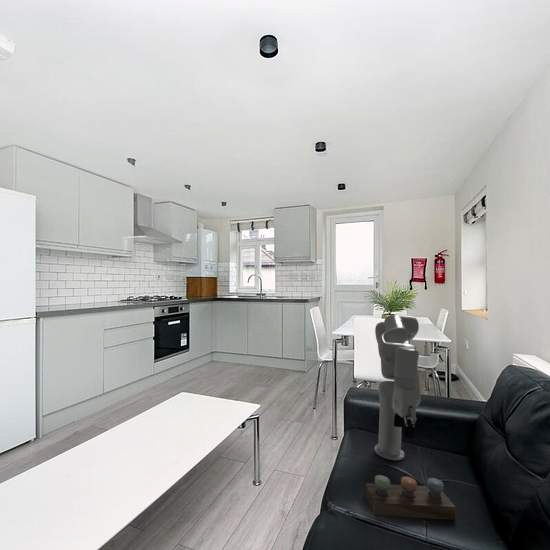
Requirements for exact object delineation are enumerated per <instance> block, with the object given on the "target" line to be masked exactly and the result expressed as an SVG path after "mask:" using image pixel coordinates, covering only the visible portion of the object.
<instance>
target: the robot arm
mask: <svg viewBox="0 0 550 550" xmlns="http://www.w3.org/2000/svg"><path fill="white" fill-rule="evenodd" d="M419 328H420V326H419V321H418V319H417V318H416V317H415V316H414V315H406V314H405V315H403V314H389V315H388V316H386V317H385V319H384V321H381V322H378V323H376V325H375V330H374V335H375V338H376V339H375V340H376V342H377V348H378V355H379V358H380V370H381V371H380V372H381V375H382V377H383V378H384V379H387V380H384V381H382V382H380V383H379V385H378V397H379V398H378V399H379V414H378V415H379V419H378V440H377V441H378V443H377V444H376V445H374V448H373V449H374V452H375V454H376V455H378V456H379V457H381V458H383V459H386V460H389V461H401V460H404V458H405V452H404V450H402V449H401V448H402V428H403V438H405V439H414V435H415V433H414V432H415V426H416V422H417V416H416V414H417V407H418V406H419V405H420V404H421V401H422V399H421V398H422V395H421V394H422V393H421V389H420V388H421V387H420V379H419V378H420V377H419V371H418V361H419V355H420V354H419V353H420V351H419V349H418V348H417V346H416V345H414V344H411V343H410V344H409V343H406V342H411V341H412V340H413V339H414V338H415V337H416V336H417V334H418V333H419Z"/></svg>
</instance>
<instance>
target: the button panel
mask: <svg viewBox="0 0 550 550" xmlns="http://www.w3.org/2000/svg"><path fill="white" fill-rule="evenodd" d="M364 486H365V487H364V497H365V498H366V501H367V503H368V505H369V507H370V509H371V512H372V513H373V515H374V516H377V517H393V518H395V517H397V518H411V519H413V518H415V519H435V520H436V519H437V520H451V521H452V520H456V506H455V504H454V503H453V502H452V501H451V500H450V498H449V497H448V496H447V495H446V494H445V492H444V491H443V492H442V493H441V495H440V499H432V498H431V496H430V489H429V488H428V487H427V485H426V486H425V485H417V489H416V491H414V498H405V496H404V495H403V488H402V486H401V484H390V488H389V489H388V490H387V497H382V496H378V494H377V487H376V486H375V483H365V485H364Z"/></svg>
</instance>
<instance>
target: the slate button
mask: <svg viewBox="0 0 550 550" xmlns="http://www.w3.org/2000/svg"><path fill="white" fill-rule="evenodd" d="M426 483H427V485H426V486H427V487H428V488H429V489H430V496H431V498H432V499H440V495H441V493H442V492H443V493H444V482H443V481H441V479H438V478H435V477H428V479H427V482H426Z"/></svg>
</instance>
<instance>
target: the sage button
mask: <svg viewBox="0 0 550 550" xmlns="http://www.w3.org/2000/svg"><path fill="white" fill-rule="evenodd" d="M374 484H375V486H376V487H377V494H378V496H382V497H387V490H388V489H389V488H390V485H391V481H390V478H388V477H387V476H385V475H381V474H378V475H375V476H374Z"/></svg>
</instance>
